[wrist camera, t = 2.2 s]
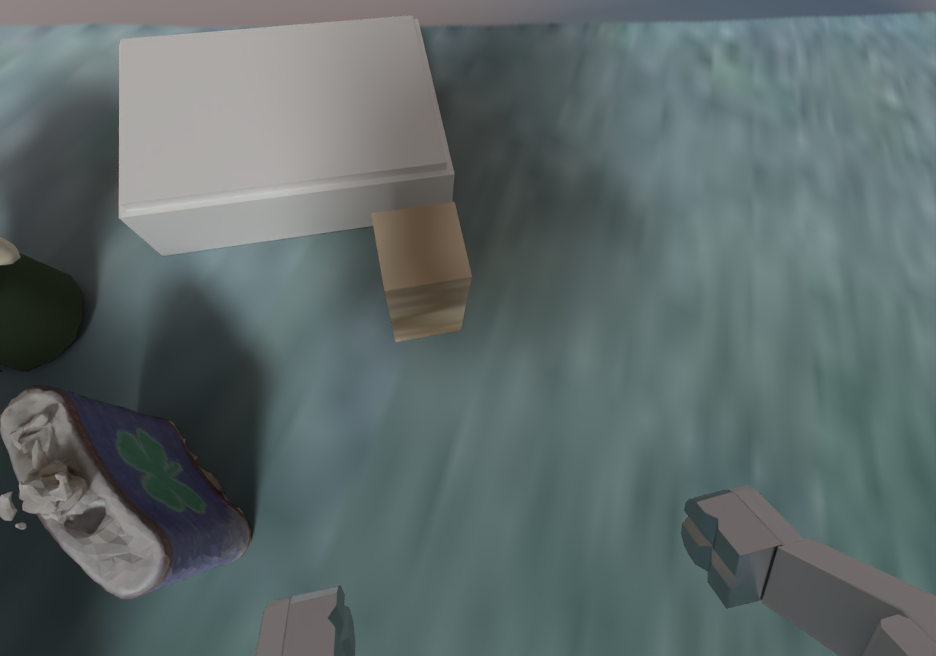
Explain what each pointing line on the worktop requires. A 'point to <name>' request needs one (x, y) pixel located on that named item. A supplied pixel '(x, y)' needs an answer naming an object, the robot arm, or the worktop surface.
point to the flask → (117, 491)
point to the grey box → (276, 132)
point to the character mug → (35, 310)
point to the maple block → (423, 269)
